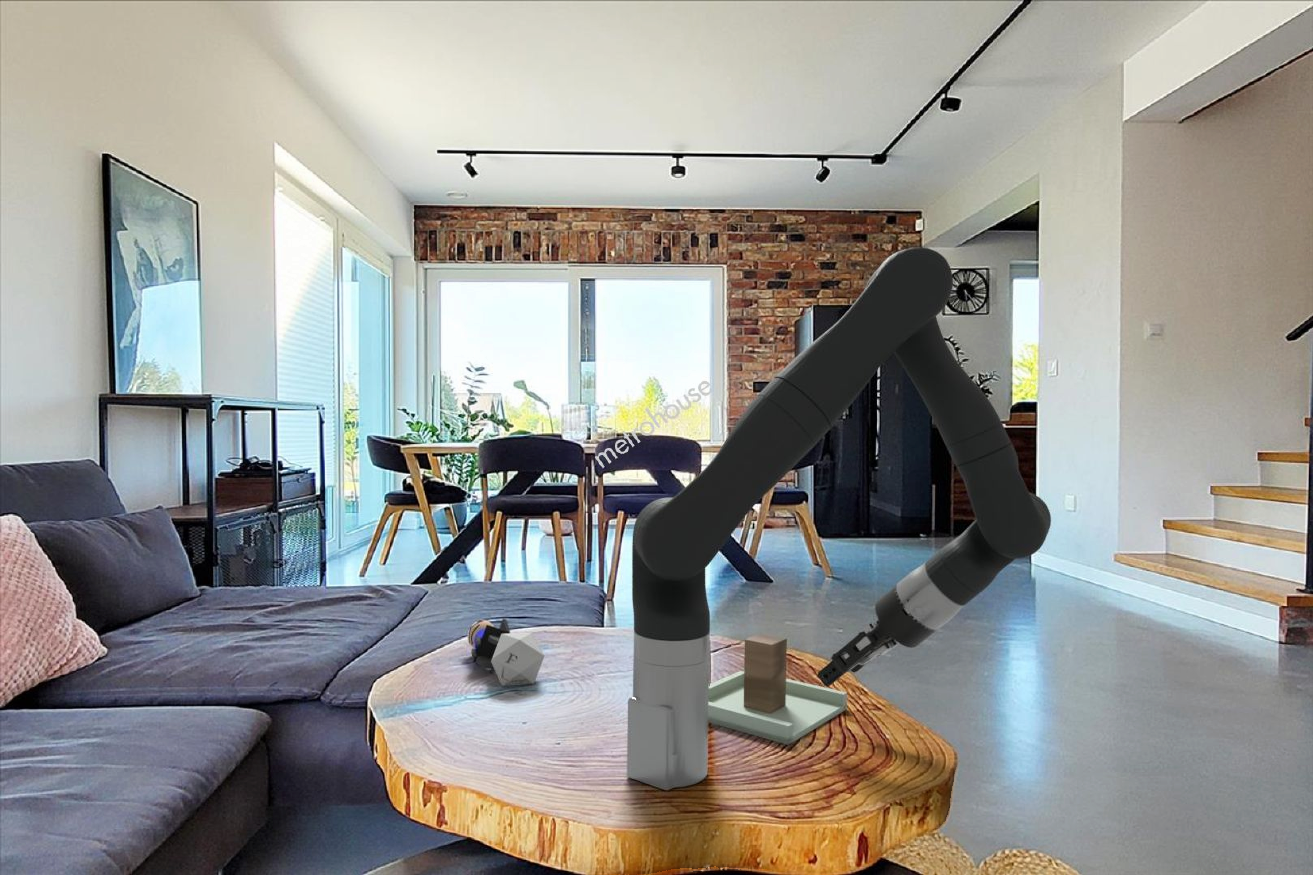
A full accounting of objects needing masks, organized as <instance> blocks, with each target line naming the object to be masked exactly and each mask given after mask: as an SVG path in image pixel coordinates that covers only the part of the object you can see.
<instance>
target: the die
mask: <svg viewBox="0 0 1313 875" xmlns="http://www.w3.org/2000/svg"><path fill="white" fill-rule="evenodd" d="M544 658H545V654H544V652H543V650H542V648H541V646H540V644H539V642H538V639H537V638H536V637H535V634H534V632H533V631H532V632H531V631H529V632H512V633H511V632H510V633H508V634H501V636H500V639H499V642H498V644H497V647H496V650H495V652H494V655H493V658H492V660H491V663H492V665H493V667H494V669H495V670H494V671H495V673H496V675H497V678H498V680H499V682H500V684H501V686H502V687H504V686H505V687H507V686H520V685H521V686H524V685H534V684H535V683H536V682H535V681H536V679H537V677H538V674H539V671H540V669H541V666H542V664H543V660H544Z"/></svg>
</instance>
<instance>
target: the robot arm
mask: <svg viewBox="0 0 1313 875" xmlns="http://www.w3.org/2000/svg"><path fill="white" fill-rule="evenodd" d="M953 280H954V279H953V273H952V268H951V266H950V264H949V262H948V261H947V258H945V257H944V255H942V254H941V253H939V252H938V251H937V250H935V249H931V248H928V247H922V246H920V247H916V246H915V247H909V248H904V249H901V250H900V251H897V252H895V253H892V255H890V256H888V257H887V258H886V259H885V260H883V262H882V263H881V265H879V267H878V268H877V269H876V270H875V271H874V273H872V275H871V276H870V277H869V279H868V281H867V283H866V285H865V287H864V290H863V291H862V292H861V294H860V295H859V296H858V298H857V299H856V300H855V302H854V303H853V304H852V305H851V306H850V308H849V309H848V310H847V311H846V312H845V313H844V315H843V316H842V317H841V318H839V320H837V322H836V323H834V324H833V325H832V326H831V327H830V328H829V329H828V330H826V331H825V332H824V333H822V335H820V336H819V337H818V338H816V339H815V340H814V341H813V342H812V343H810V344H809V345H808V346H807V347H806V348H805V349H803V350H802V351H801V352H800V353H799V354H797V355H796V357H794V359H792V360H791V361H789V363H788V364H787V365H786V366H784V368H782V370H781V371H779V372H778V373H777V374H776V375H775V376H774V378H772V380H770V381H769V383H767V385H766V386H765V387H764V388H762V390H761V391H760V392H759V393H758V394H757V396H755V397H754V399H753V400H751V402H750V403H749V404H748V406H747V407H746V408H745V410H744V411H743V412H742V414H741V415H740V417H739V418H738V420H737V421H736V423H735V424H734V426H733V427H732V429H731V431H730V432H729V434H728V436H727V437H726V439H725V441H724V442H723V444H722V446H721V447H720V450H718V452H717V454H716V455H715V456H714V457H713V459H712V460H711V461H710V462H709V464H708V465H707V466H706V467H705V468H704V469H703V470H702V471H701V472H700V473H699V474H698V475H697V476H696V477H695V478H694V479H693V480H692V481H691V482H689V484H687V485H686V486H685V487H684V488H683V489H682V490H680V492H678V494H676V495H674V497H662V498H658V499H656V500H653V501H652V502H650V503H649V504H647V505H646V506H645V507H644V508H643V509H642V510H641V511H640V512H639V514H638V515H637V517H636V519H635V522H634V526H633V530H632V543H631V544H632V547H631V548H632V549H631V550H632V551H631V557H632V558H631V560H632V564H631V568H632V571H631V577H632V579H631V584H632V585H631V589H632V590H631V591H632V592H631V598H632V600H631V601H632V609H633V611H632V612H633V660H632V661H633V663H632V664H633V667H632V696H631V697H629V698H628V699H627V740H626V741H627V744H626V745H627V746H626V751H627V752H626V777H627V778H630V779H633V780H636V781H638V782H641V783H644V784H647V785H650V786H653V787H655V788H657V789H661V790H663V791H669V790H671V789H673V788H683V787H688V786H692V785H695V784H697V783H700V782H702V781H703V780H704V779H705V778H706V777H707V774H708V759H709V758H708V757H709V756H708V754H709V753H708V752H709V751H708V750H709V722H708V699H709V684H710V645H711V644H710V641H711V640H710V638H711V637H710V634H711V633H710V632H711V630H710V629H711V628H710V627H711V623H710V622H711V612H710V606H709V602H708V597H707V596H708V595H707V589H706V568H707V567H708V566H709V565H710V563H711V562H712V561H713V559H715V557H716V556H717V554H718V553H719V552H720V550H721V549H722V548H723V547H724V545H725V543H726V542H727V541H728V540H729V538H730V537H731V535H732V534H733V533H734V531H735V530H737V527H738V526H739V525H740V524H741V522H742V521H743V520H744V518H745V517H746V516H747V515H748V514H749V512H750V511H751V510H752V509H753V507H754V506H756V504H757V503H758V502H759V501H760V500H761V499H762V498H763V497H765V495H766V494H767V493H768V492H769V491H771V490H772V489H773V488H774V486H776V485H777V484H778V483H779V482H780V481H782V480H783V478H784V477H785V476H786V475H787V474H788V473H789V472H791V470H792V469H793V468H794V467H795V466H796V465H797V464H798V463H799V462H800V461H801V460H802V459H803V458H804V457H805V456H806V455H807V454H808V453H809V452H810V451H811V450H812V449H813V448H814V447H815V446H816V445H817V444H818V443H819V442H820V440H822V438H823V437H824V436H825V435H826V434H827V433H828V432H829V431H830V430H831V429H832V428H833V426H834V425H835V424H836V423H837V421H838V420H839V419H840V418H841V417H842V416H843V414H845V413H846V411H847V410H848V409H849V407H850V406H851V405H852V404H853V402H854V401H855V400H856V398H858V397H859V395H860V394H861V393H862V392H863V390H864V389H865V387H866V386H867V385H868V383H869V382H870V381H871V379H872V377H874V375H875V373H876V372H877V371H878V369H879V368H880V367H881V366H882V365H883V363H885V361H886V360H887V359H888V358H889V357H890V356H891V355H892V354H893V353H894V355H895V356H896V358H897V360H898V361H899V363H900V364H901V365H902V367H903V369H904V370H905V372H906V374H907V375H908V377H909V378H910V380H911V381H912V382H911V383H913V385H914V387H915V388H916V390H917V392H918V393H919V395H920V397H921V398H922V400H923V403H924V404H925V406H926V408H927V409H928V412H929V414H930V416H931V417H932V419H933V422H934V423H935V427H936V428H937V430H938V431H939V434H940V437H941V438H942V441H943V442H944V445H945V446H946V449H947V451H948V453H949V455H950V457H951V459H952V461H953V464H954V465H955V468H956V469H957V471H958V472H959V475H960V476H961V478H962V480H963V483H964V485H965V488H966V492H967V497H968V498H969V502H970V505H971V509H972V512H973V514H974V516H975V517H974V518H975V520H974V521H972V523H971V524H970V525H969V526H968V527H967V528H966V529H965V530H964V531H963V532H962V533H960V535H959V536H957V537H956V538H954V539H953V540H951V541H950V542H949V543H947V544H945V545H944V546H943V547H942V548H941V549H939V550H938V551H937V552H936V553H935V554H933V555H932V556H931V557H930V558H928V560H927V561H925V562H923V564H921V565H920V566H918V567H916V569H913V570H912V571H910V573H908V574H907V575H906V576H905V577H903V579H901V580H900V581H899V582H898V583H897V584H895V585H894V586H893V587H892V588H891V589H890V590H889V591H887V592H886V593H885V594H883V596H881V598H879V599H878V600H877V601H876V603H875V605H874V611H875V615H876V617H877V621H875V622H874V623H872V622H871V623H869V624H868V625H867V626H865V627H863V629H862V630H861V631H859V633H857V635H855V637H853V638H852V639H850V640H849V641H847V643H846V644H845V645H843V647H841V649H839V650H838V651H837V652H836V653H833V654H832V656H831V657H830V659H831V661H830V662H829V663H828V664H827V665H825V666H824V667H823V668H821V669H820V670H819V671H818V672H817V677H818V679H819V680H820V682H821V683H822V684H823V686H824V687H825V688H829V687H830V686H831V685H833V684H834V683H835V682H836V681H837V680H839V679H840V678H842V676H844V675H845V674H846V673H850V672H852V673H857V672H858V671H860V670H861V669H862V668H864V667H865V666H866V665H868V663H869V662H870V661H872V660H874V659H876V658H877V659H878V658H879V657H883V656H884V655H885V654H887V653H889V652H890V651H891V650H893V649H894V648H896V647H897V646H899V644H900V645H902V646H904V647H906V648H910V649H912V648H913V649H914V648H917V647H918V646H919V645H920V644H922V643H923V642H924V641H925V640H926V639H928V638H929V637H930V636H932V635H933V634H934V633H936V632H937V631H939V629H940V628H942V627H943V626H944V625H945V624H947V623H948V622H949V621H950V620H952V619H953V618H954V617H955V616H956V615H957V614H958V613H959V612H960V611H961V610H962V609H963V608H964V607H965V606H966V605H967V604H968V603H970V601H972V600H973V599H974V598H975V597H976V596H978V595H979V594H981V593H982V592H984V590H986V589H987V588H988V587H989V586H990V585H991V584H992V582H994V579H995V578H996V577H997V576H998V574H999V573H1000V572H1001V571H1002V570H1004V569H1005V568H1006V567H1007V566H1008V565H1010V564H1011V563H1013V562H1014V561H1015V560H1016V559H1018V560H1019V559H1025V558H1028V557H1031V556H1032V555H1034V554H1035V553H1036V552H1038V551H1039V550H1040V549H1041V548H1042V546H1043V544H1044V543H1045V541H1046V539H1047V536H1048V534H1049V532H1050V529H1051V523H1052V516H1051V511H1050V510H1049V507H1048V506H1047V503H1045V501H1044V500H1043V499H1042V498H1041V497H1040V496H1038V495H1036V494H1035V493H1033V492H1029V490H1028V488H1027V485H1026V483H1025V481H1024V479H1023V477H1022V474H1021V472H1020V470H1019V459H1018V455H1017V451H1016V449H1015V447H1014V445H1013V443H1012V441H1011V438H1010V437H1009V435H1008V433H1007V430H1006V429H1005V426H1004V424H1003V423H1002V420H1001V418H1000V416H999V414H998V412H997V410H996V409H995V407H994V406H993V404H992V402H991V401H990V400H989V398H988V397H987V395H986V394H985V393H984V392H983V391H982V390H981V388H980V387H979V386H978V385H977V384H976V382H975V380H973V379H972V378H971V377H970V376H969V375H968V373H967V372H966V371H965V369H964V367H962V366H961V365H960V364H959V362H958V361H957V359H956V357H955V356H954V354H953V353H952V351H951V350H950V348H949V347H948V345H947V343H946V341H945V338H944V336H943V333H942V330H941V328H940V325H939V322H938V319H937V316H938V315H940V313H941V312H942V310H944V309H945V307H946V305H947V303H948V302H949V299H950V297H951V296H952V295H951V294H952V292H953V286H954V285H953ZM845 655H848V657H847V658H846V657H845Z"/></svg>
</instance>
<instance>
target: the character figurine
mask: <svg viewBox="0 0 1313 875" xmlns="http://www.w3.org/2000/svg"><path fill="white" fill-rule="evenodd" d="M508 633H511V630H510V627H509V624H508V621H507V619H506V618H502V621H501V623H500V626H499V628H498V627H496V626H494V624H492V623H491V621H488V620H478V621H475V622H474V623H472V625H470V627H469V629H468V630H467V641H468V643H469V645H470V646H471V647H472V648H471V650H470V653H471V657H472V658H473V660H472V663H473V664H475V665H478V666H480V667H482V668H485V669H489V670H494V671H495V669H494V667H493V665H492V663H491V660H492V658H493V655H494V652H495V650H496V647H497V644H498V642H499V639H500V636H501V634H508Z"/></svg>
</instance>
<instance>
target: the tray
mask: <svg viewBox="0 0 1313 875" xmlns="http://www.w3.org/2000/svg"><path fill="white" fill-rule="evenodd" d="M709 684H710V686H709V699H708V724H712V725H716V726H720V727H722V728H723V727H724V728H726V729H730V730H735V731H737V732H740V733H745V734H748V735H752V736H756V737H759V738H763V739H766V740H770V741H773V742H777V743H780V744H784V745H787V746H789V745H791V744H793V743H794V742H796V741H797V740H799V739H801V738H802V737H804V736H806V735H807V734H809V733H810V732H812V731H813V730H815V729H817V728H819V727H820V726H822V725H823V724H825V723H826V722H828V721H830V720H831V719H833V718H835V717H837V716H838V715H840V714H841V713H843V712H844V711H846V710H847V709H848V708H847V706H848V705H847V704H848V702H847V701H848V693H847V692H846V691H842V690H837V689H834V688H829V687H826V686H824V687H823V686H820V685H816V684H811V683H806V682H802V681H799V680H793V679H790V678H789V679H788V678H786V706H784V707H782V708H780V709H778V710H777V711H775V712H773V713H771V714H769V713H765V712H761V711H757V710H754V709H750V708H746V707H744V669H742V670H739V671H737V672H734V673H732V674H730V675H727V676H724V677H723V678H721V679H718V680H715V681H713V682H711V683H709Z"/></svg>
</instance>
